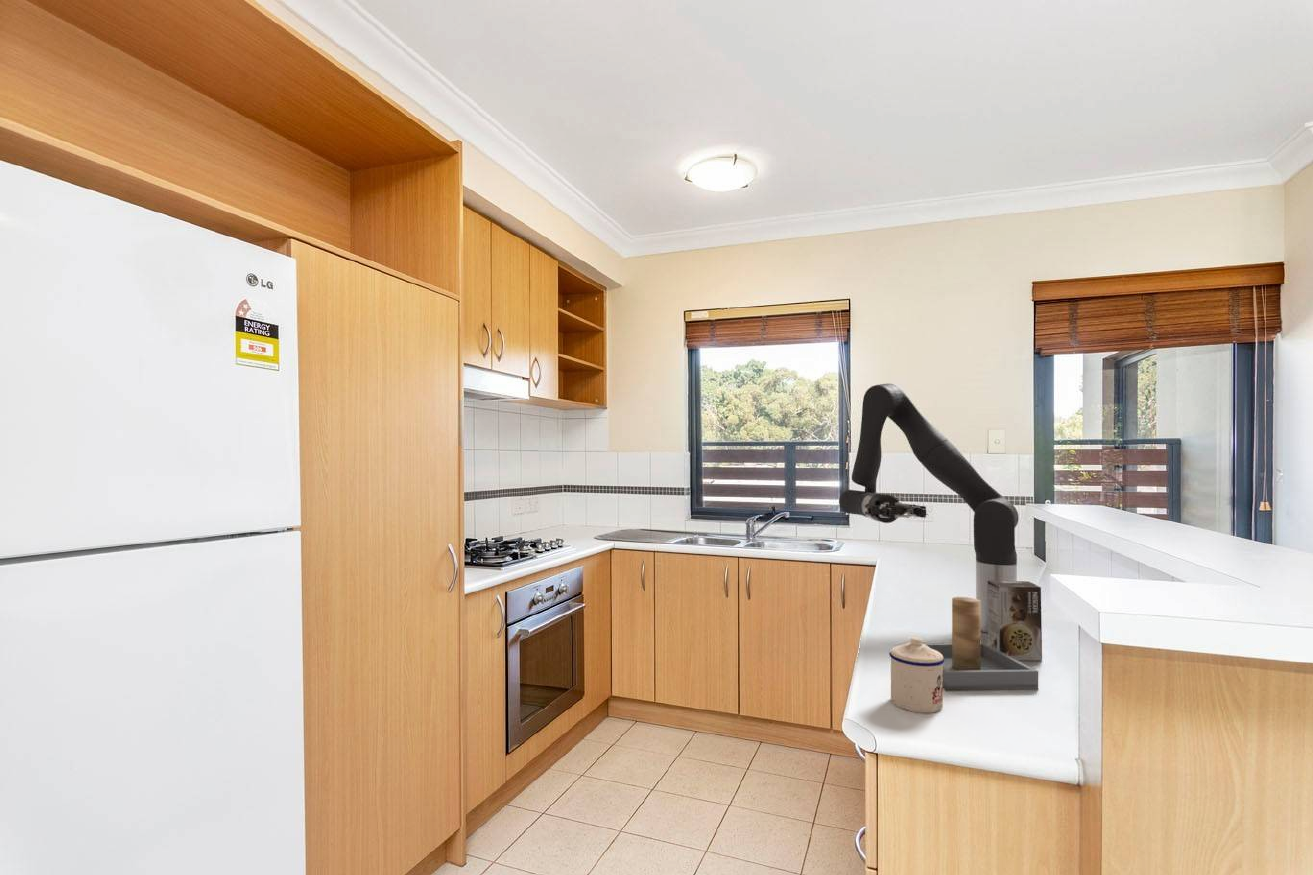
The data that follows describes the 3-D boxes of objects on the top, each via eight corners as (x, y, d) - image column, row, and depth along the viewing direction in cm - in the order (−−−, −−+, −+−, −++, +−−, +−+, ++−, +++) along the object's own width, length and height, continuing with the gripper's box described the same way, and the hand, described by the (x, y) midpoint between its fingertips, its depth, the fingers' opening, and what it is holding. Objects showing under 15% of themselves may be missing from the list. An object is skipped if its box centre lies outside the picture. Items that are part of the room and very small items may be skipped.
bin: (984, 659, 141) (984, 643, 141) (1038, 689, 123) (1038, 671, 123) (904, 660, 140) (904, 643, 140) (946, 690, 122) (946, 672, 122)
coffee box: (1029, 652, 147) (1028, 580, 147) (1043, 661, 140) (1042, 586, 140) (986, 650, 147) (986, 579, 148) (998, 659, 141) (998, 585, 141)
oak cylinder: (971, 664, 135) (971, 596, 135) (985, 673, 129) (985, 602, 130) (947, 664, 134) (947, 596, 135) (960, 673, 129) (960, 602, 129)
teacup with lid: (945, 717, 110) (945, 648, 110) (888, 709, 113) (888, 642, 113) (942, 693, 121) (942, 630, 121) (890, 686, 124) (890, 625, 125)
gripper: (854, 493, 175) (879, 497, 159) (906, 493, 176) (935, 498, 160) (854, 521, 175) (879, 528, 159) (906, 521, 176) (935, 528, 160)
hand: (907, 513), depth 159 cm, fingers open, 8 cm apart
